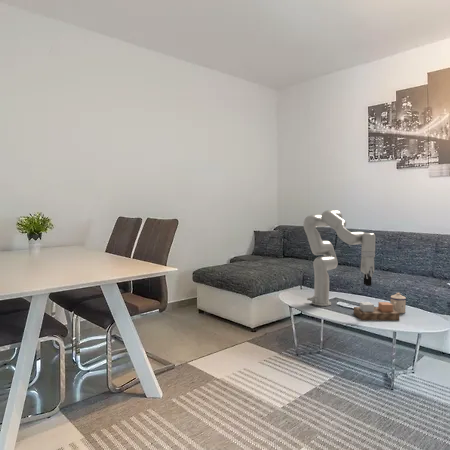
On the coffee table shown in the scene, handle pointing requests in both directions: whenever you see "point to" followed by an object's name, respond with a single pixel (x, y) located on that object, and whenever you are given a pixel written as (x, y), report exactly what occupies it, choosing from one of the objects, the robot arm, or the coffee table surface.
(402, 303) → the teacup with lid
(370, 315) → the brown slotted base
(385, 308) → the salmon orange block
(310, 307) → the coffee table surface
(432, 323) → the coffee table surface
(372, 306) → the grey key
